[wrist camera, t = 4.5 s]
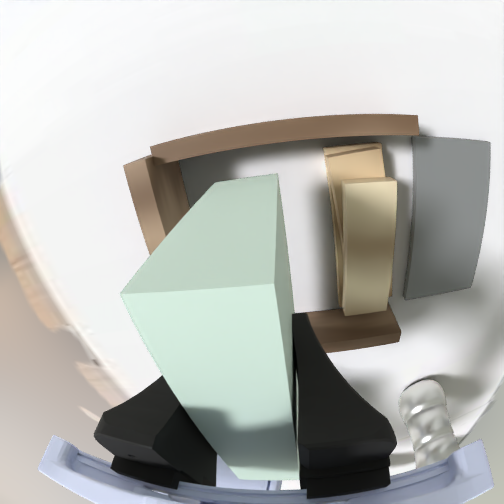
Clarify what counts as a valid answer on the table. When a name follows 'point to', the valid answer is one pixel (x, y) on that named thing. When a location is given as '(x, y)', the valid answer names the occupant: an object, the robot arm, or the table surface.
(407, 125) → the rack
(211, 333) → the pale green block
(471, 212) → the mat
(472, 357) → the table surface
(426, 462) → the plastic bottle
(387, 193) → the offcuts
